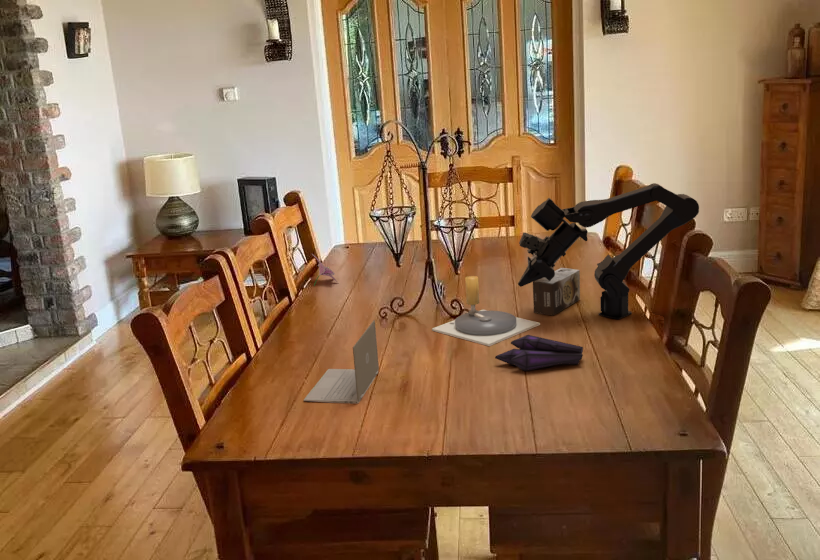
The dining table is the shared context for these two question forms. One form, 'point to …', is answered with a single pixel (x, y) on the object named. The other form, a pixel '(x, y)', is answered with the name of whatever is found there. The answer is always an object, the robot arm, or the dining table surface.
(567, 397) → the dining table surface
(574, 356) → the crystal
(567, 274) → the coffee box
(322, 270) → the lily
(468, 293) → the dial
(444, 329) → the panel
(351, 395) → the laptop
